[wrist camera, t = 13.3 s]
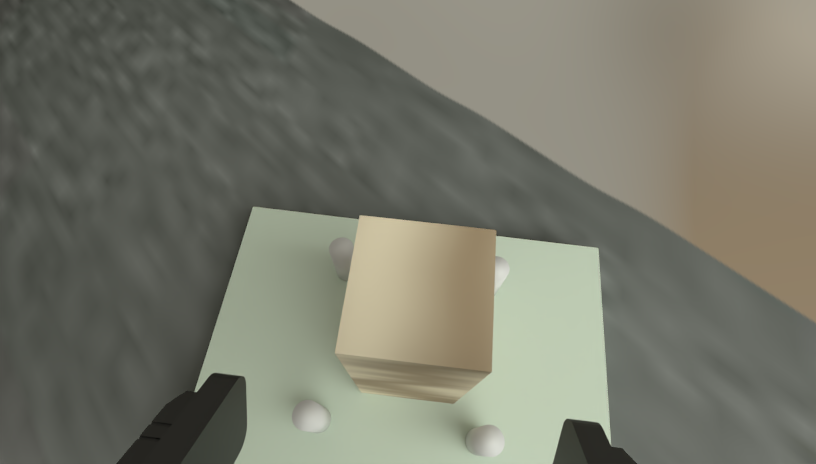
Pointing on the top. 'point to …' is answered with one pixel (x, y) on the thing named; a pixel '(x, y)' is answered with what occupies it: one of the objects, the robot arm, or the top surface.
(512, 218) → the top surface
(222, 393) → the robot arm
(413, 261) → the ash block
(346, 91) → the top surface
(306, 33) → the top surface
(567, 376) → the peg board
